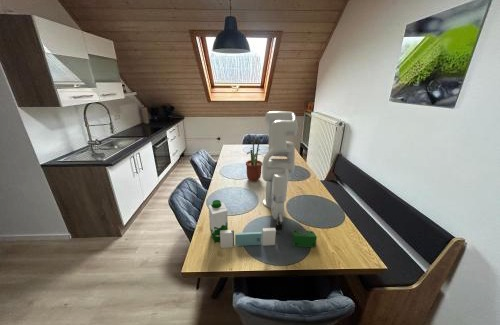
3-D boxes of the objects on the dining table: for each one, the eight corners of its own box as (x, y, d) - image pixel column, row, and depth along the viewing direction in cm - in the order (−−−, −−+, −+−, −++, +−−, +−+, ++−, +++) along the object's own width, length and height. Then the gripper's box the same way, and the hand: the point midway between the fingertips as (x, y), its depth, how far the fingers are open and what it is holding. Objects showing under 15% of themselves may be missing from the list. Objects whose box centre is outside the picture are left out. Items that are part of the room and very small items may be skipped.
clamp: (308, 247, 111) (316, 232, 110) (311, 253, 105) (319, 238, 104) (288, 237, 111) (295, 223, 109) (289, 243, 105) (298, 228, 104)
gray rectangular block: (270, 227, 118) (270, 215, 115) (280, 226, 119) (281, 215, 116) (271, 232, 114) (272, 220, 111) (282, 232, 115) (283, 220, 112)
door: (235, 244, 106) (235, 233, 103) (260, 242, 107) (261, 231, 104) (235, 247, 104) (235, 236, 101) (261, 246, 105) (262, 235, 102)
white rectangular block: (220, 244, 106) (220, 230, 102) (273, 241, 108) (275, 227, 105) (220, 247, 104) (219, 233, 100) (274, 244, 106) (275, 230, 103)
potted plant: (243, 177, 175) (243, 136, 161) (259, 174, 181) (261, 135, 167) (252, 187, 160) (253, 143, 147) (269, 183, 166) (272, 140, 153)
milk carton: (224, 229, 117) (223, 197, 109) (230, 240, 109) (229, 207, 101) (209, 233, 113) (206, 201, 106) (213, 244, 106) (211, 211, 98)
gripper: (268, 188, 116) (267, 215, 122) (275, 205, 100) (273, 235, 106) (282, 188, 117) (279, 214, 123) (290, 205, 100) (287, 234, 106)
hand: (276, 224), depth 114 cm, fingers open, 9 cm apart
